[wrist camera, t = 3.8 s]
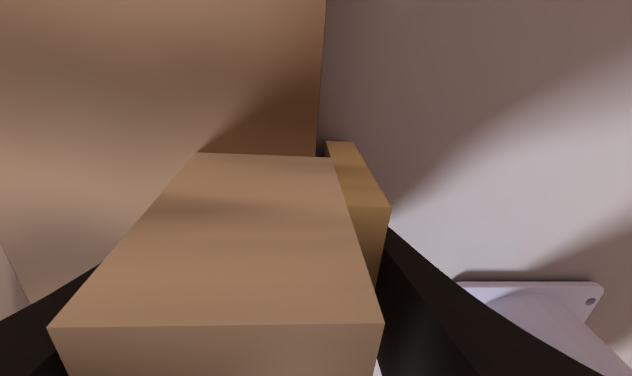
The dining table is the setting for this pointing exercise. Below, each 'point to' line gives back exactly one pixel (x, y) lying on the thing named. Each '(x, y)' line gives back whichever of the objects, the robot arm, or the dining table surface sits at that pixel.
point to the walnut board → (137, 112)
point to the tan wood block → (240, 274)
